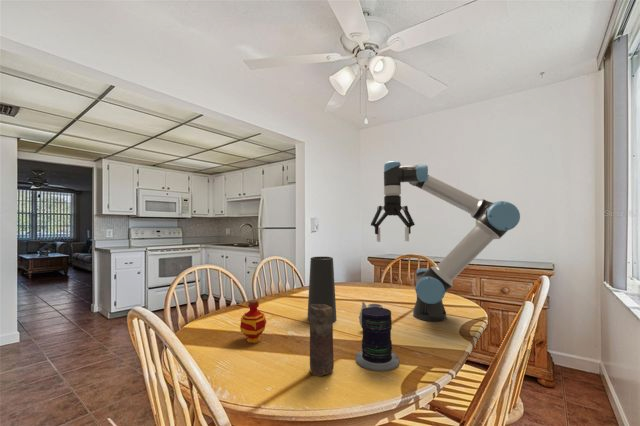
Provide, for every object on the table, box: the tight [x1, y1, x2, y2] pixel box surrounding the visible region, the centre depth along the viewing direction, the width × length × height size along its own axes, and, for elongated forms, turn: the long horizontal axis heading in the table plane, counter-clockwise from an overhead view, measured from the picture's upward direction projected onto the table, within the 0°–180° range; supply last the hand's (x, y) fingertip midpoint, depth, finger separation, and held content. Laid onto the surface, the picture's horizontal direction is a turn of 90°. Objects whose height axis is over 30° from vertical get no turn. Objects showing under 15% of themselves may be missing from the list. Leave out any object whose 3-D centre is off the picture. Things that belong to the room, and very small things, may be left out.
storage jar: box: [361, 306, 393, 364], centre depth 101 cm, size 10×10×15 cm
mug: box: [358, 301, 384, 328], centre depth 131 cm, size 8×12×12 cm, turn 115°
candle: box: [309, 304, 335, 377], centre depth 95 cm, size 8×7×20 cm
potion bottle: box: [239, 299, 267, 343], centre depth 119 cm, size 10×10×15 cm
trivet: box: [355, 349, 400, 372], centre depth 101 cm, size 14×14×1 cm
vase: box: [306, 256, 337, 323], centre depth 144 cm, size 14×14×29 cm
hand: (392, 241), depth 141 cm, fingers open, 13 cm apart
